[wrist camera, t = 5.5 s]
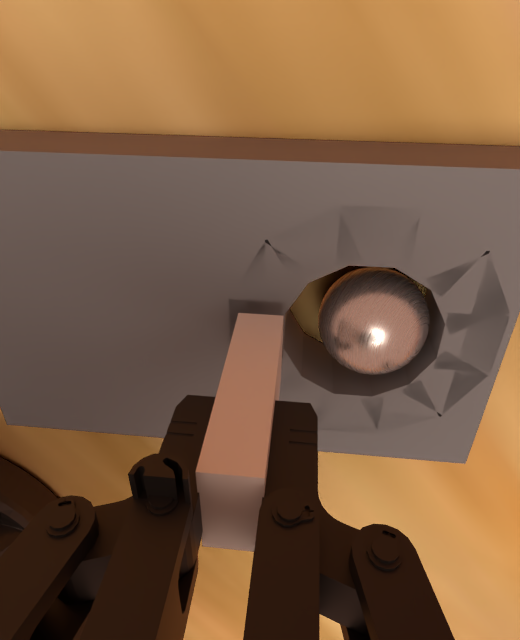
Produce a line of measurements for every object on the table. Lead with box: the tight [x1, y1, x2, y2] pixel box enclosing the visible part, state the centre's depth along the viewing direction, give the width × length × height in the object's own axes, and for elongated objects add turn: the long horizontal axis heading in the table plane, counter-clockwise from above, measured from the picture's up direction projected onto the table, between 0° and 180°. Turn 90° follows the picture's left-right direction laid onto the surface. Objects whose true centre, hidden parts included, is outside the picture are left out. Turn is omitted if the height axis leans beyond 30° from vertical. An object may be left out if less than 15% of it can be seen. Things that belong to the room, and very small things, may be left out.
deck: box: [0, 130, 520, 464], centre depth 19 cm, size 20×12×3 cm, turn 90°
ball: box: [318, 267, 430, 375], centre depth 18 cm, size 4×4×4 cm
